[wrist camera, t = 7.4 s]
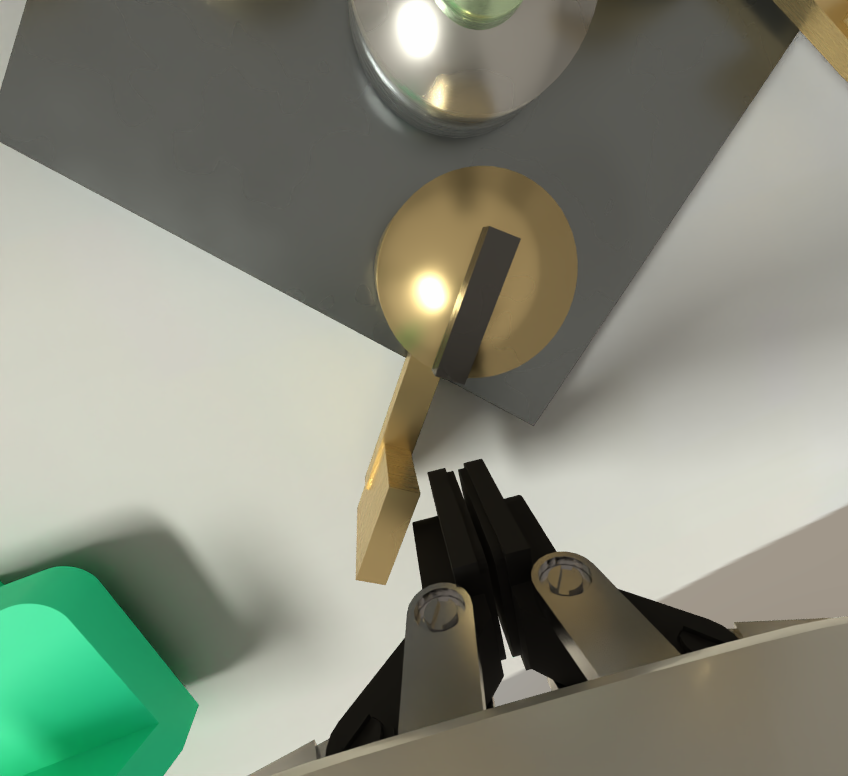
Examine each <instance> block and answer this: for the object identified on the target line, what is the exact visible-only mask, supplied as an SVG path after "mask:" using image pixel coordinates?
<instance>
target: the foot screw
mask: <svg viewBox="0 0 848 776" xmlns="http://www.w3.org/2000/svg"><path fill="white" fill-rule="evenodd" d="M577 274H578V260H577V251H576V245H575V241H574V237H573V233H572V231H571V228H570V225H569V223H568V220H567V219H566V217H565V215H564V213H563V211H562V210H561V208H560V207H559V205H558V204H557V203H556V201H555V200H554V199H553V198H552V197H551V196H550V195H549V194H548V193H547V192H546V191H545V190H544V189H543V188H542V187H541V186H539V185H538V184H537V183H535V182H534V181H533V180H531V179H529V178H527V177H525V176H524V175H522V174H520V173H517V172H514V171H511V170H509V169H505V168H499V167H494V166H473V167H464V168H461V169H457V170H453V171H450V172H448V173H445V174H443V175H441V176H438V177H436V178H435V179H433V180H432V181H430V182H428V183H427V184H425V185H424V186H423V187H421V188H420V189H419V190H418V191H416V192H415V193H414V194H413V195H412V196H411V197H410V198H409V199H408V200H407V201H406V202H405V204H404V205H403V206H402V207H401V208H400V209H399V210H398V212H397V213H396V214H395V215H394V216H393V218H392V219H391V220H390V222H389V223H388V225H387V226H386V228H385V230H384V232H383V234H382V236H381V238H380V241H379V244H378V247H377V251H376V255H375V264H374V279H375V285H376V290H377V294H378V297H379V301H380V304H381V307H382V310H383V313H384V316H385V318H386V320H387V322H388V325H389V327H390V329H391V330H392V332H393V334H394V335H395V337H396V338H397V340H398V341H399V342H400V343H401V345H402V346H403V347H404V348H405V349H406V350H407V351H408V353H407V356H406V359H405V362H404V365H403V368H402V370H401V373H400V376H399V379H398V382H397V385H396V388H395V391H394V394H393V397H392V400H391V403H390V406H389V409H388V412H387V415H386V418H385V420H384V423H383V426H382V429H381V432H380V435H379V438H378V441H377V444H376V447H375V450H374V453H373V456H372V459H371V462H370V465H369V467H368V470H367V473H366V476H365V487H364V490H363V493H362V496H361V499H360V502H359V505H358V508H357V550H356V580H359V581H365V582H371V583H377V584H382V585H386V583H387V580H388V577H389V575H390V572H391V570H392V567H393V564H394V562H395V559H396V557H397V554H398V551H399V549H400V546H401V544H402V541H403V538H404V536H405V533H406V531H407V528H408V525H409V523H410V520H411V518H412V515H413V512H414V510H415V507H416V505H417V502H418V499H419V497H420V490H419V486H418V481H417V477H416V473H415V469H414V464H413V460H412V453H413V450H414V447H415V445H416V442H417V439H418V437H419V434H420V431H421V428H422V426H423V423H424V420H425V417H426V415H427V412H428V409H429V407H430V404H431V401H432V398H433V396H434V393H435V390H436V388H437V385H438V382H439V379H440V378H443V379H446V380H449V381H453V382H456V383H459V384H463V385H465V383H466V380H467V378H484V377H490V376H495V375H498V374H502V373H505V372H508V371H510V370H512V369H515V368H517V367H519V366H520V365H522V364H524V363H526V362H527V361H529V360H530V359H531V358H533V357H534V356H535V355H537V354H538V353H539V352H540V351H541V350H542V349H543V348H544V347H545V346H546V345H547V344H548V343H549V342H550V341H551V339H552V338H553V337H554V336H555V335H556V333H557V331H558V330H559V328H560V327H561V325H562V324H563V322H564V320H565V318H566V316H567V314H568V312H569V309H570V306H571V303H572V301H573V297H574V293H575V289H576V282H577Z"/></svg>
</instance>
